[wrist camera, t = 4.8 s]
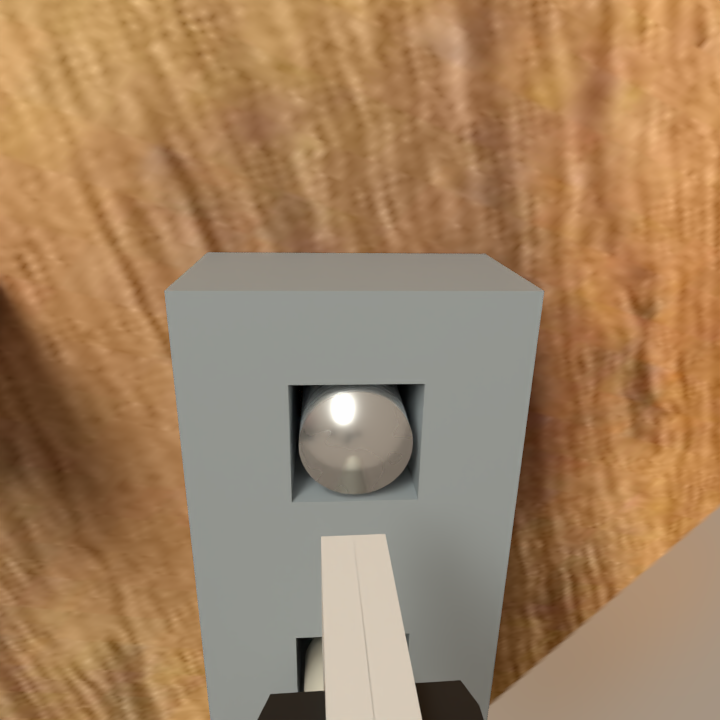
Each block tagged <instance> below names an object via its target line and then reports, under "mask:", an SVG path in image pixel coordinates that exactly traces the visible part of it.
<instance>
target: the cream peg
mask: <svg viewBox="0 0 720 720" xmlns="http://www.w3.org/2000/svg"><path fill="white" fill-rule="evenodd" d="M310 691H323V653H322V637H315V638H314V639H313V640H312V641H311V643H310V644H309V646H308V648H307V651H306V655H305V679H304V692H310Z"/></svg>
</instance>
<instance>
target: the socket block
mask: <svg viewBox="0 0 720 720" xmlns="http://www.w3.org/2000/svg"><path fill="white" fill-rule="evenodd" d="M164 292H165V301H166V310H167V320H168V329H169V338H170V347H171V357H172V366H173V375H174V385H175V394H176V403H177V413H178V422H179V431H180V440H181V450H182V459H183V468H184V478H185V487H186V496H187V506H188V515H189V524H190V533H191V543H192V552H193V561H194V571H195V580H196V589H197V599H198V608H199V617H200V626H201V636H202V645H203V654H204V664H205V673H206V682H207V692H208V701H209V710H210V720H257V719H258V717H259V715H260V713H261V711H262V709H263V707H264V706H265V704H266V702H267V700H268V698H269V696H270V694H278V693H294V692H304V679H305V655H306V651H307V648H308V646H309V644H310V643H311V641H312V640H313V639H314V638H315V637H322V594H321V537H322V536H346V535H370V534H385V535H386V540H387V545H388V550H389V555H390V560H391V565H392V570H393V576H394V581H395V586H396V591H397V596H398V601H399V606H400V611H401V616H402V621H403V626H404V631H405V636H406V641H407V646H408V651H409V656H410V661H411V666H412V671H413V676H414V681H415V683H424V682H440V681H455V680H461V681H462V683H463V684H464V685H465V687H466V688H467V689H468V691H469V692H470V693H471V695H472V696H473V697H474V699H475V700H476V701H477V703H478V704H479V706H480V709H481V712H482V716H483V719H484V720H487V717H488V709H489V702H490V694H491V687H492V679H493V672H494V664H495V657H496V649H497V642H498V634H499V627H500V619H501V612H502V604H503V596H504V589H505V581H506V574H507V566H508V559H509V551H510V544H511V536H512V529H513V521H514V514H515V506H516V499H517V491H518V484H519V476H520V469H521V461H522V454H523V446H524V438H525V431H526V423H527V416H528V408H529V401H530V393H531V386H532V378H533V371H534V363H535V356H536V348H537V341H538V333H539V326H540V318H541V311H542V303H543V296H544V291H543V290H541V289H540V288H538V287H537V286H535V285H534V284H532V283H530V282H529V281H527V280H526V279H524V278H522V277H521V276H519V275H518V274H516V273H515V272H513V271H511V270H510V269H508V268H507V267H505V266H503V265H502V264H500V263H499V262H497V261H495V260H494V259H492V258H491V257H489V256H488V255H486V254H406V253H213V252H208V253H206V254H205V255H204V256H203V257H202V258H201V259H200V260H199V261H197V262H196V263H195V264H194V265H193V266H192V267H191V268H190V269H188V270H187V271H186V272H185V273H184V274H183V275H182V276H181V277H179V278H178V279H177V280H176V281H175V282H174V283H173V284H172V285H170V286H169V287H168V288H167V289H166V290H165V291H164ZM357 384H397V387H398V390H399V393H400V397H401V400H402V403H403V406H404V409H405V412H406V415H407V418H408V421H409V425H410V428H411V431H412V436H413V448H412V453H411V457H410V459H409V461H408V464H407V465H406V467H405V469H404V470H403V471H402V473H401V474H400V475H399V476H398V477H397V478H396V479H395V480H394V481H392V482H391V483H390V484H388V485H386V486H385V487H383V488H380V489H378V490H376V491H373V492H369V493H364V494H344V493H339V492H335V491H332V490H330V489H328V488H326V487H324V486H322V485H321V484H319V483H318V482H316V481H315V480H314V479H313V478H312V477H311V476H310V475H309V473H308V472H307V471H306V469H305V467H304V466H303V463H302V461H301V458H300V454H299V432H300V420H301V417H299V396H298V385H357Z"/></svg>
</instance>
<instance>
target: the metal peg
mask: <svg viewBox="0 0 720 720" xmlns="http://www.w3.org/2000/svg"><path fill="white" fill-rule="evenodd" d="M412 448H413V436H412V431H411V428H410V425H409V421H408V418H407V415H406V412H405V409H404V406H403V403H402V400H401V397H400V393H399V390H398V387H397V384H357V385H303V394H302V407H301V420H300V432H299V454H300V458H301V461H302V463H303V466H304V467H305V469H306V471H307V472H308V473H309V475H310V476H311V477H312V478H313V479H314V480H315V481H316V482H318V483H319V484H321V485H322V486H324V487H326V488H328V489H330V490H332V491H335V492H339V493H344V494H364V493H369V492H373V491H376V490H378V489H380V488H383V487H385V486H386V485H388V484H390V483H391V482H392V481H394V480H395V479H396V478H397V477H398V476H399V475H400V474H401V473H402V471H403V470H404V469H405V467H406V465H407V464H408V461H409V459H410V457H411V453H412Z"/></svg>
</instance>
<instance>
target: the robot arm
mask: <svg viewBox="0 0 720 720" xmlns="http://www.w3.org/2000/svg"><path fill="white" fill-rule="evenodd" d="M321 594H322V653H323V691H310V692H294V693H278V694H270V696H269V698H268V700H267V702H266V704H265V706H264V707H263V709H262V711H261V713H260V715H259V717H258V719H257V720H484V719H483V716H482V712H481V709H480V706H479V704H478V703H477V701H476V700H475V699H474V697H473V696H472V695H471V693H470V692H469V691H468V689H467V688H466V687H465V685H464V684H463V683H462V681H461V680H455V681H440V682H424V683H415V681H414V676H413V671H412V666H411V661H410V656H409V651H408V646H407V641H406V636H405V631H404V626H403V621H402V616H401V611H400V606H399V601H398V596H397V591H396V586H395V581H394V576H393V570H392V565H391V560H390V555H389V550H388V545H387V540H386V535H385V534H370V535H346V536H322V537H321Z"/></svg>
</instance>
